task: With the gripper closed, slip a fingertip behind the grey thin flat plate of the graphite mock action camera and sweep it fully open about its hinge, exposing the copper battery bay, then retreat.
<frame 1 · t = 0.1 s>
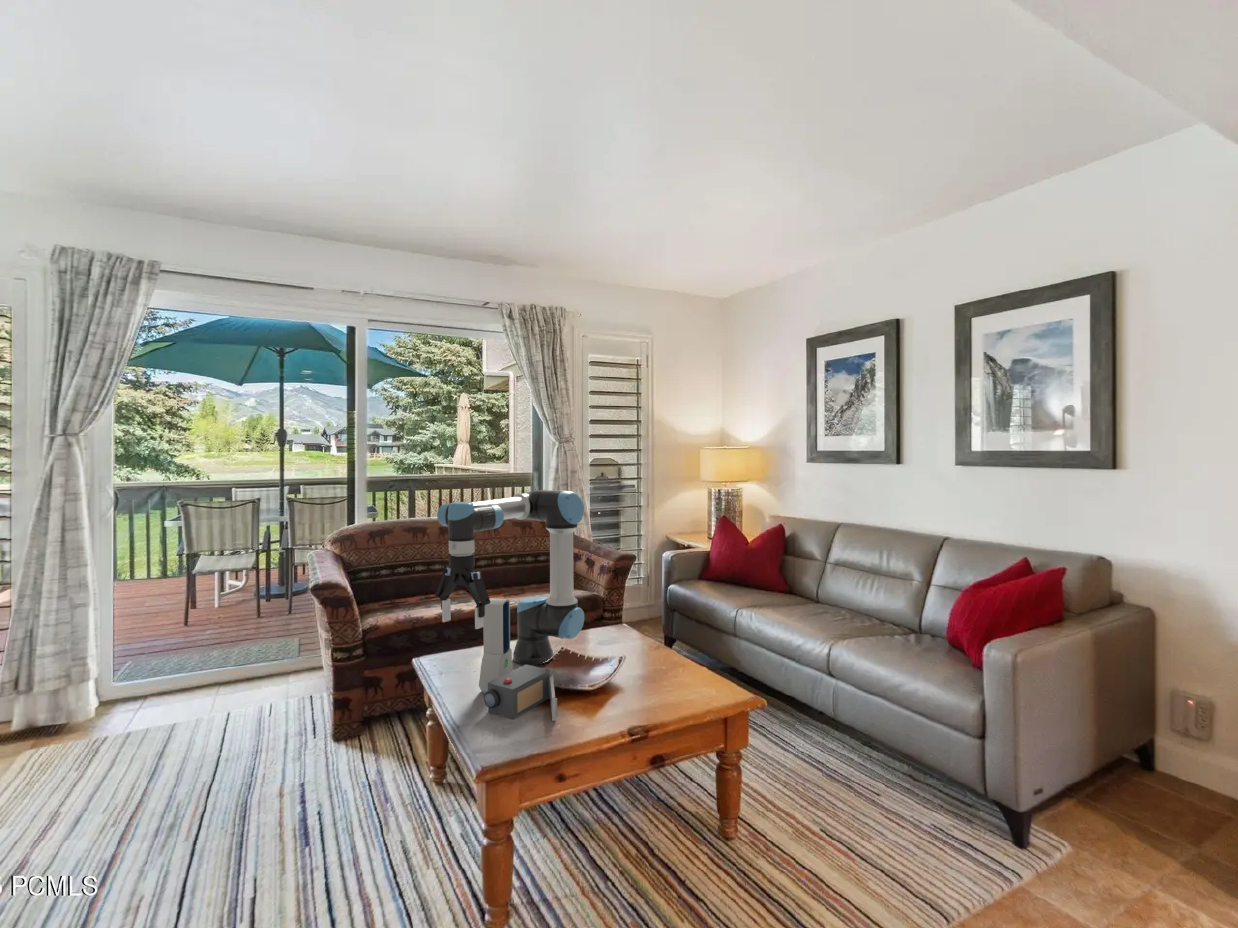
hand: (462, 624, 182), 28 cm above the table, fingers open, 13 cm apart
grey thin flat plate: (553, 697, 188), point 4 cm above the table, hinge at 40.0°
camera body: (519, 704, 191), on the table
electronic device: (496, 688, 205), on the table
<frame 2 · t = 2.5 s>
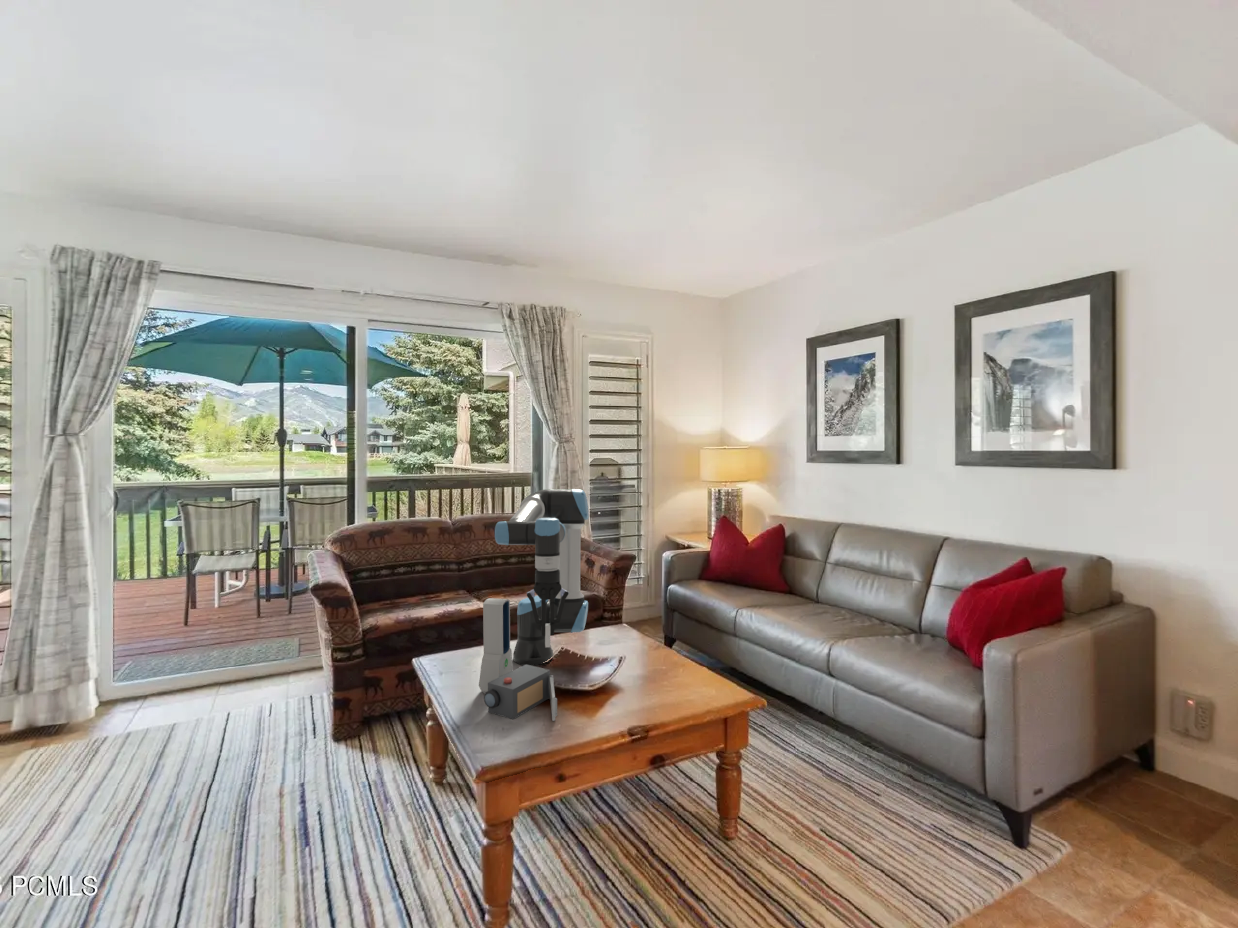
hand: (547, 645, 186), 20 cm above the table, fingers closed
nothing on the table moved.
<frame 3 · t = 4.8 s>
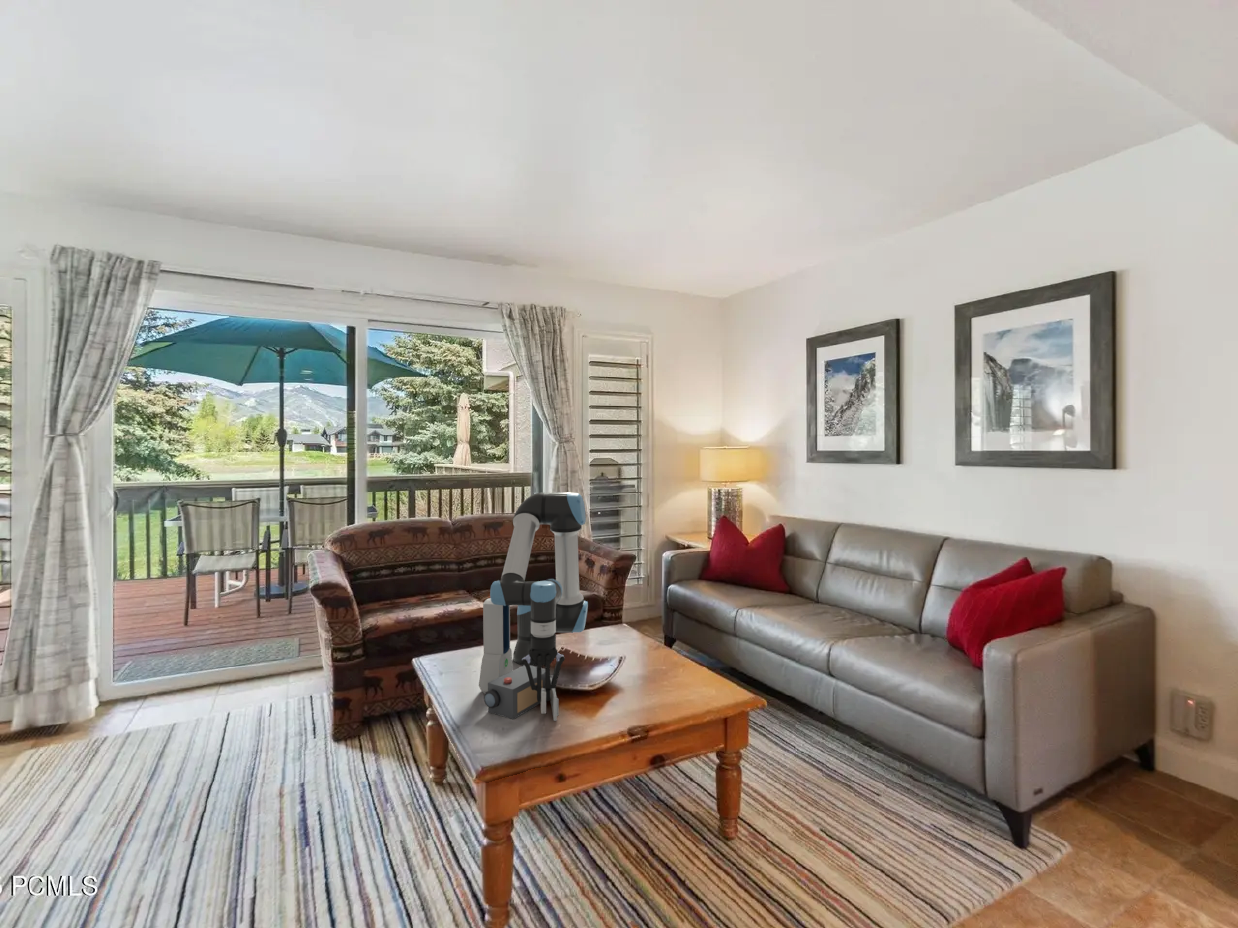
hand: (543, 711, 183), 1 cm above the table, fingers closed
grey thin flat plate: (553, 697, 188), point 4 cm above the table, hinge at 41.5°, touching gripper
everything else where it was.
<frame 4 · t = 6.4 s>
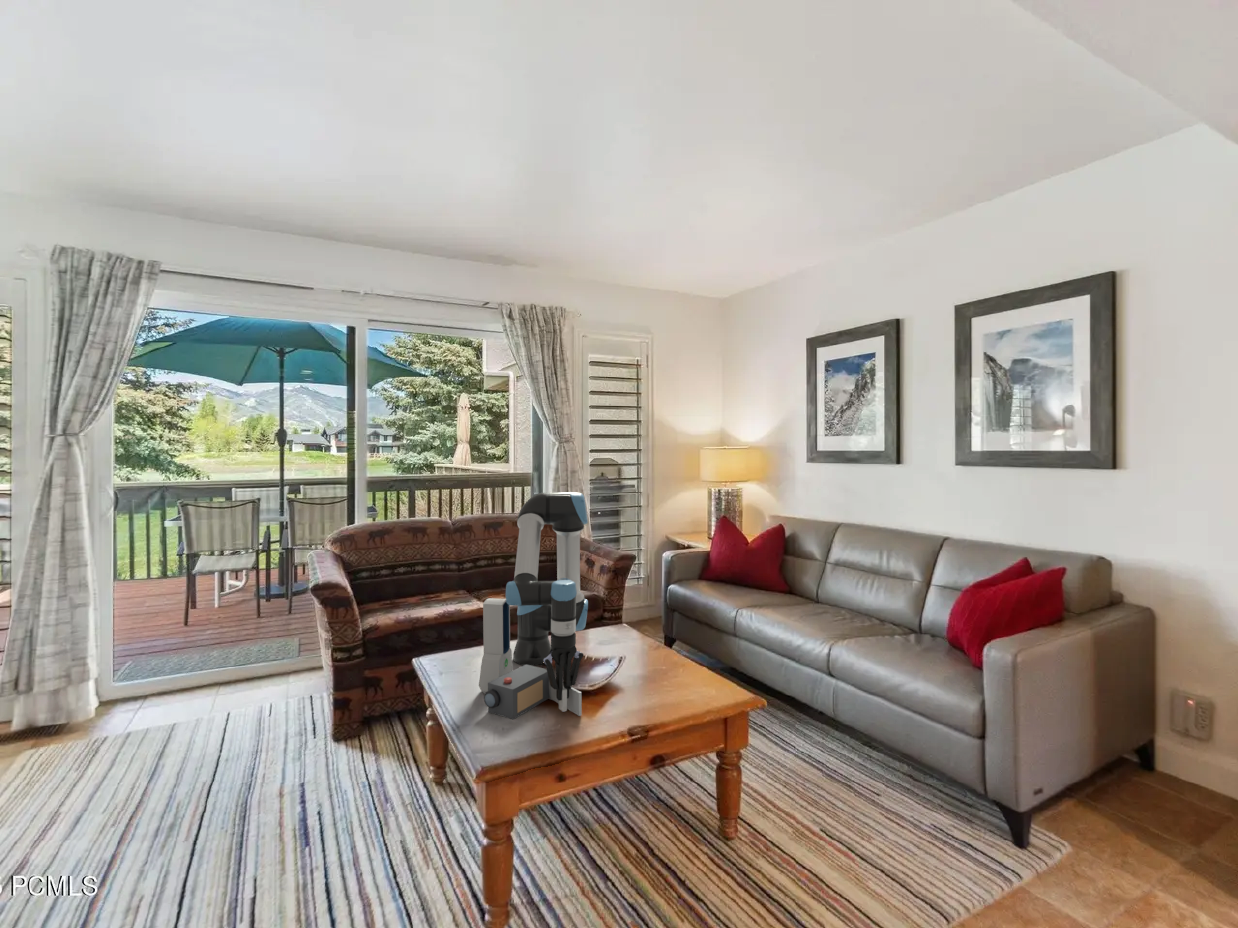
hand: (562, 709, 184), 2 cm above the table, fingers closed
grey thin flat plate: (565, 694, 189), point 4 cm above the table, hinge at 69.6°, touching gripper
everything else where it was.
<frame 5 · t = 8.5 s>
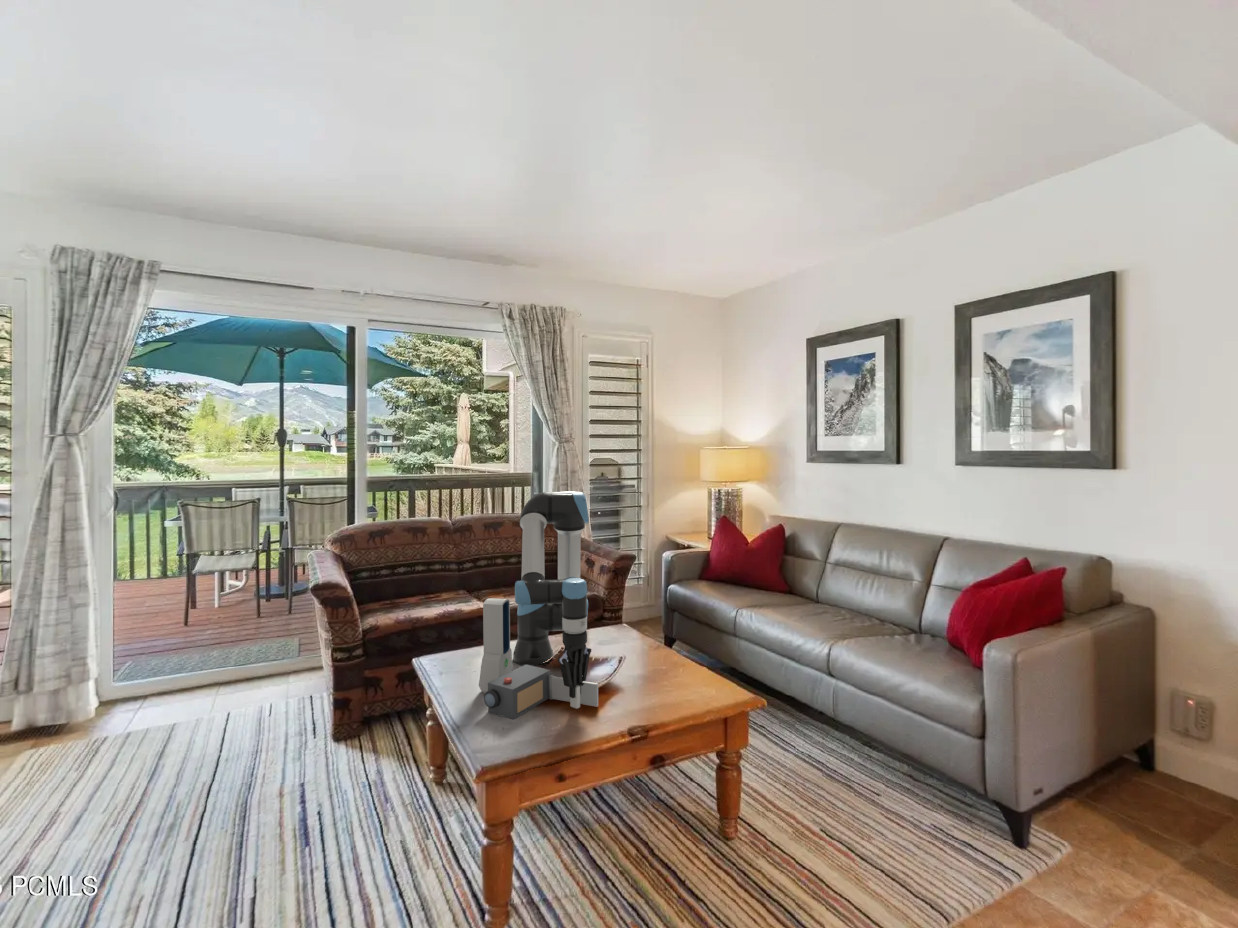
hand: (575, 706, 186), 2 cm above the table, fingers closed
grey thin flat plate: (573, 690, 193), point 4 cm above the table, hinge at 98.9°
everything else where it was.
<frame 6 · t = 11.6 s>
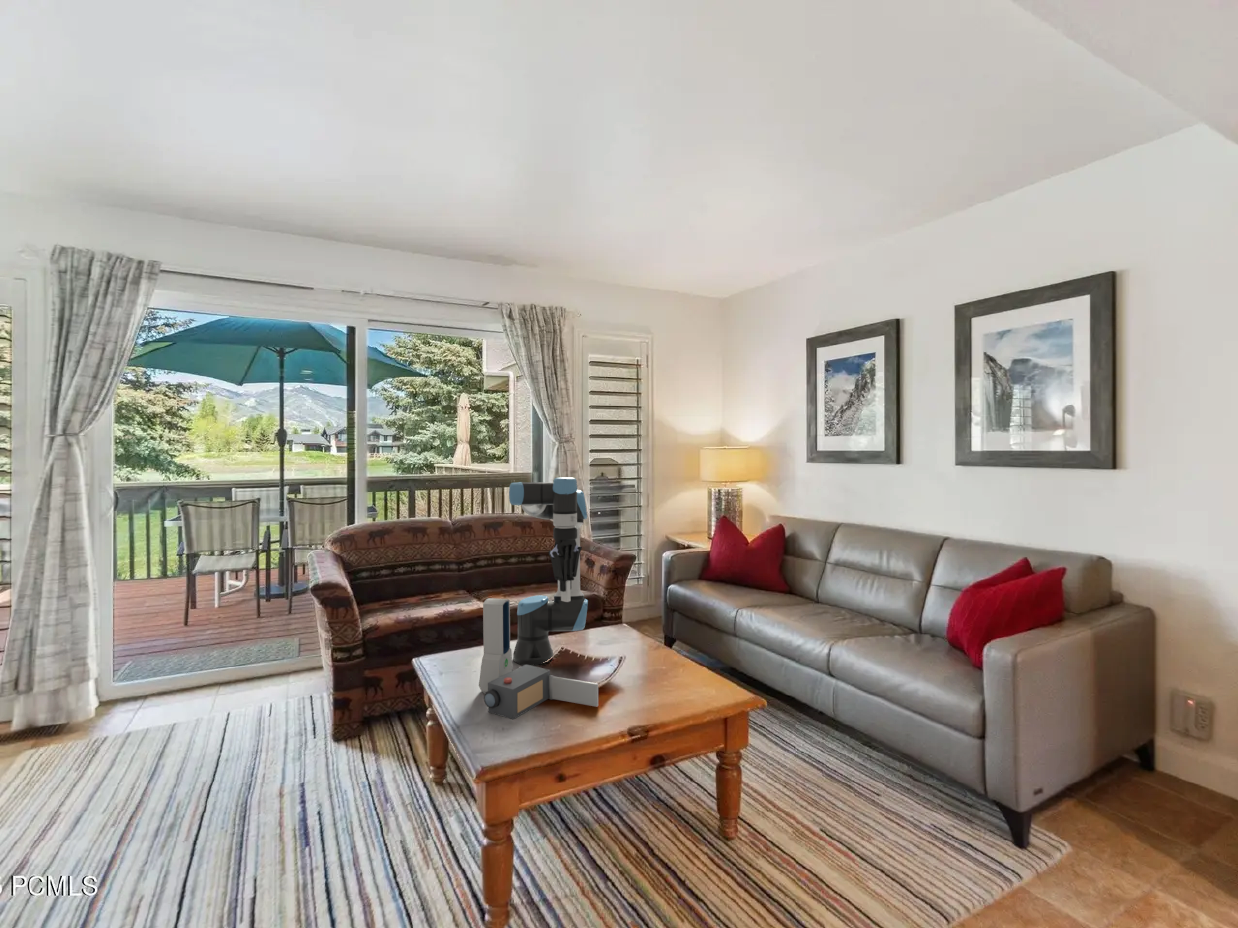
hand: (565, 600, 192), 32 cm above the table, fingers closed
nothing on the table moved.
at the end: grey thin flat plate at +99° (first picture: +40°) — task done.
